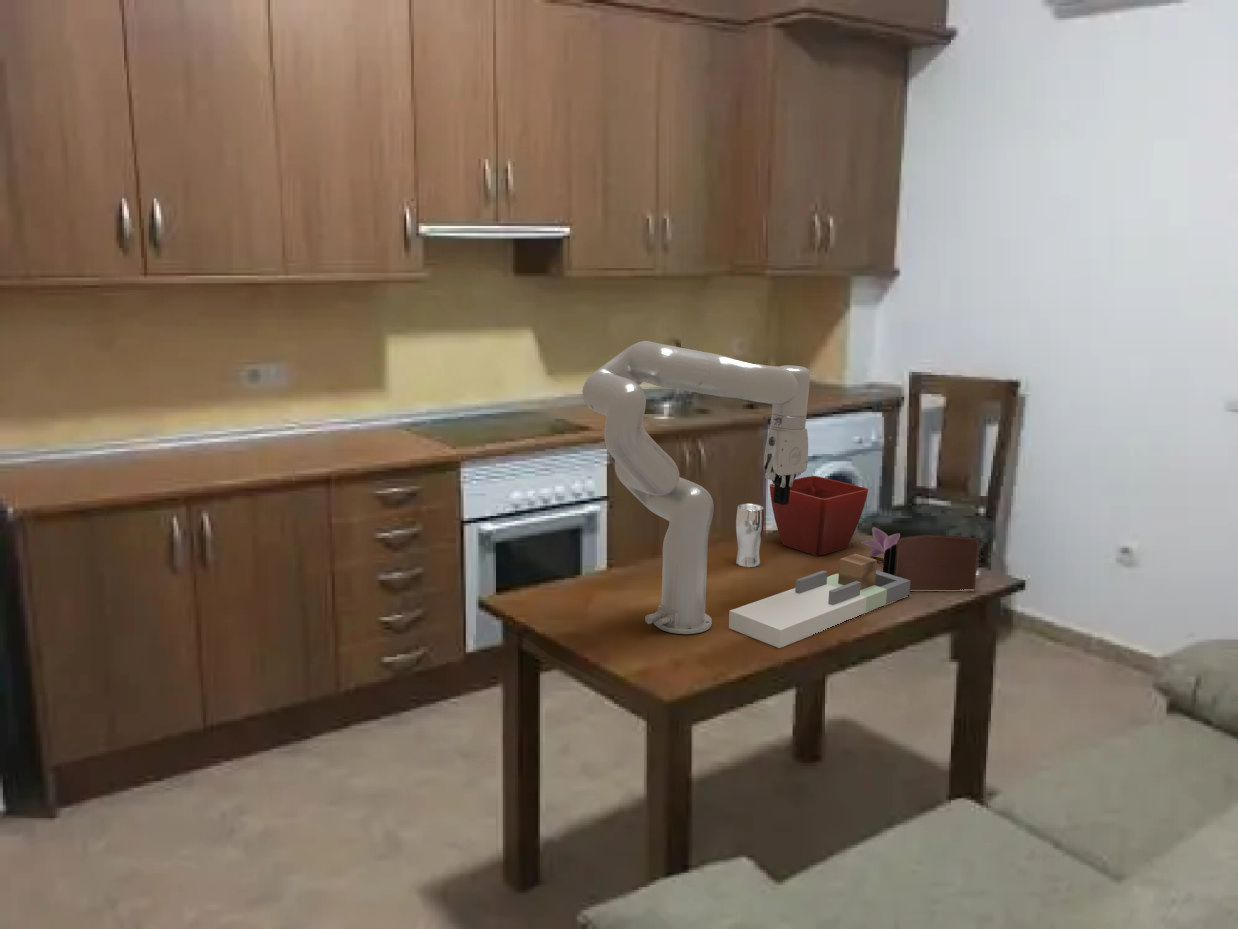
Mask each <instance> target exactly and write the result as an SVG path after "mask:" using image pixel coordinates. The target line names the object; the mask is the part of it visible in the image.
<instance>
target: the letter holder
mask: <svg viewBox="0 0 1238 929" xmlns="http://www.w3.org/2000/svg"><path fill="white" fill-rule="evenodd" d="M979 550H980V542H979V540H978V539H977V538H973V537H967V536H961V535H960V536H959V535H949V534H924V535H923V534H922V535H913V536H907V537H906V536H905V537H904V536H903V537H900V538H899V540H898V541H897V544H894V545H892V546H891V548H888V549H886V550H885V552H884V554H883V564H882V572H884V573H888V574H891V575H894V576H897V577H901V578H904V579H907V580H910V590H960V589H961V590H962V589H963V590H964V589H975V590H976V581H977V571H978V570H977V569H978V560H979V552H980V551H979Z"/></svg>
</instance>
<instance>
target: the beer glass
mask: <svg viewBox="0 0 1238 929" xmlns="http://www.w3.org/2000/svg"><path fill="white" fill-rule="evenodd" d="M764 510H765V507H764V506H762V505H761V504H757V503H742V504H738V505H737V511H736V520H735V530H736V532H735V533H736V538H737V539H736V540H737V555H736V559H735V564H736V565H737V564H738V566H740V567H743V568H757V567H758V566H760V564H761V561H760V547H761V541H762V537H763V533H764V525H765V522H764V521H765V514H764V512H765V511H764ZM756 566H757V567H756Z"/></svg>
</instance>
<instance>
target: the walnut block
mask: <svg viewBox="0 0 1238 929" xmlns="http://www.w3.org/2000/svg"><path fill="white" fill-rule="evenodd" d="M877 565H878V560H877V559H874V558H871V557H868V556H864V555H861V554H857V553H854V554H850V555H847V556H843V557H842V558H839V565H838V573H839V577H838V584H841V585H847V584H849V583H852V582H855V581H858V582H861V587H860V590H862V589H865V588H868V587H870V586H873V585H875V579H876V570H877Z"/></svg>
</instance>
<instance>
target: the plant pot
mask: <svg viewBox="0 0 1238 929" xmlns="http://www.w3.org/2000/svg"><path fill="white" fill-rule="evenodd" d="M774 487H775V485H773V483H771V484H769V492H770V500H771V506H772V512H773V517H774V521H775V525H776V529H777V532H778V534H779V538H780V541H781V543H782V546H785V547H789V548H793V549H795V550H798V551H800V552H805V553H808V554H810V555H813V556H823V555H826V554H830V553H834V552H837V551H841V550H844V549H847V548H848V546H849V545H850V543H851V540H852V538H853V536H854V534H855V532H856V529H857V527H858V524H859V522H860V519H861V516H862V514H863V511H864V508H865V504H866V501H867V497H868V493H869V488H867V487H863V486H859V485H855V484H852V483H849V482H843V481H841V480H840V481H839V480H835V479H831V478H827V477H822V476H818V475H809V476H804V477H799V478H798V477H797V478H795V479H794V480H793V485H792V486H791V487H790V495H789V504H785V505H781V504H778V503H774V502H773V498H774Z"/></svg>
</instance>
